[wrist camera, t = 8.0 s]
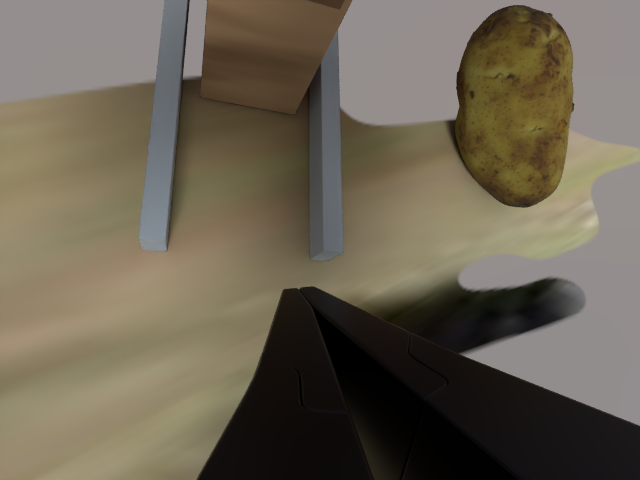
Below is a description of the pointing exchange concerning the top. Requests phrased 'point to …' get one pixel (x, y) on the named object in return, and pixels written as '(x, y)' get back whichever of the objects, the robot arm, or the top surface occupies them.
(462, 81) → the potato
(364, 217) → the top surface
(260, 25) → the crate
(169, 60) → the blue-gray angular pronged part
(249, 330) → the top surface
